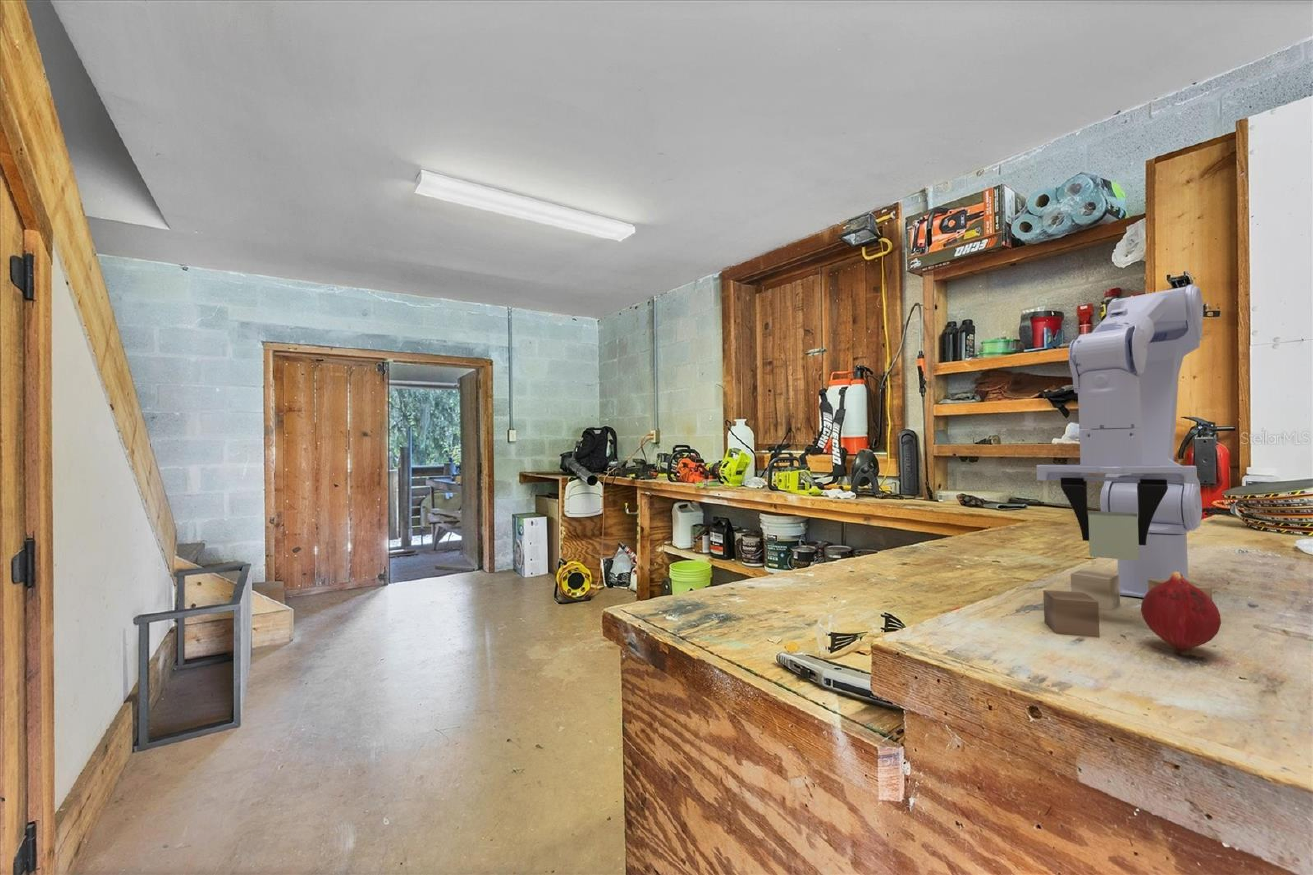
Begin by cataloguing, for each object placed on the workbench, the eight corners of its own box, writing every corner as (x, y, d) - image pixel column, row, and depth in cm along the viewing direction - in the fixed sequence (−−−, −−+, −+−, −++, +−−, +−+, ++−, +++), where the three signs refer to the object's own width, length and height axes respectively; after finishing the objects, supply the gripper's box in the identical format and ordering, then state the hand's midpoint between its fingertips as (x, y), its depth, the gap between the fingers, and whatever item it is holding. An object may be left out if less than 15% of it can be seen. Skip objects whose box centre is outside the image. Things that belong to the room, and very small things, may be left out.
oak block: (1148, 610, 67) (1147, 579, 68) (1183, 610, 67) (1181, 579, 67) (1176, 621, 63) (1175, 587, 64) (1213, 621, 63) (1211, 587, 63)
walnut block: (1044, 623, 64) (1043, 589, 64) (1084, 626, 62) (1083, 592, 62) (1056, 634, 60) (1054, 599, 60) (1099, 638, 59) (1098, 601, 59)
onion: (1239, 663, 51) (1236, 580, 51) (1169, 660, 52) (1166, 578, 52) (1191, 641, 57) (1189, 566, 57) (1129, 638, 58) (1127, 565, 58)
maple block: (1082, 598, 73) (1081, 569, 73) (1119, 605, 70) (1118, 574, 70) (1071, 603, 71) (1070, 573, 71) (1109, 610, 68) (1108, 579, 68)
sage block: (1090, 550, 67) (1089, 510, 67) (1137, 554, 64) (1136, 513, 64) (1089, 556, 64) (1088, 514, 64) (1139, 561, 61) (1137, 517, 61)
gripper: (1032, 431, 66) (1036, 540, 66) (1198, 426, 56) (1203, 554, 56) (1038, 431, 71) (1041, 532, 71) (1190, 427, 62) (1195, 543, 62)
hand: (1113, 541), depth 64 cm, fingers closed on sage block, 4 cm apart
